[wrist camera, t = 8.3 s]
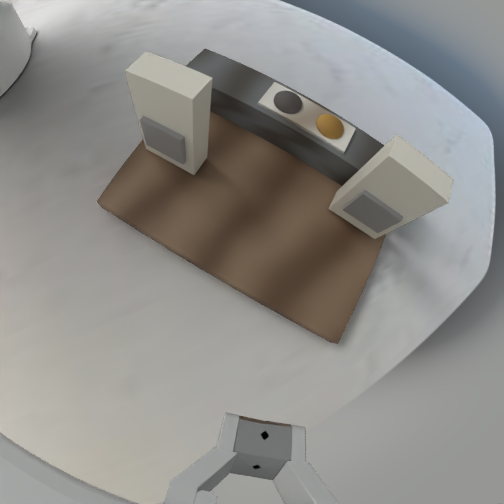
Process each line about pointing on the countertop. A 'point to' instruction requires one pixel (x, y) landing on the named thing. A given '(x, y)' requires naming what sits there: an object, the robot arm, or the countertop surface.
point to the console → (260, 199)
